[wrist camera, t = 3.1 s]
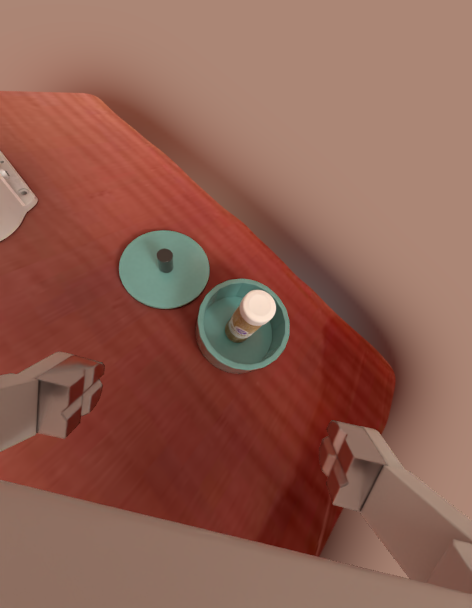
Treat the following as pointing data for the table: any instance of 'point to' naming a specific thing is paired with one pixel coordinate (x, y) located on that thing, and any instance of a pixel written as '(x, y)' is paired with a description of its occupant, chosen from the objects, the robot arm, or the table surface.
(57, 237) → the table surface
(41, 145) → the table surface
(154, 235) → the pan lid
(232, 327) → the sprinkles bottle
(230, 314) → the pan
